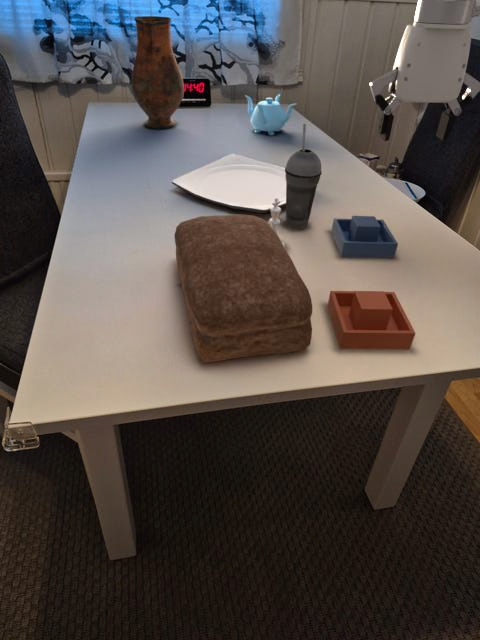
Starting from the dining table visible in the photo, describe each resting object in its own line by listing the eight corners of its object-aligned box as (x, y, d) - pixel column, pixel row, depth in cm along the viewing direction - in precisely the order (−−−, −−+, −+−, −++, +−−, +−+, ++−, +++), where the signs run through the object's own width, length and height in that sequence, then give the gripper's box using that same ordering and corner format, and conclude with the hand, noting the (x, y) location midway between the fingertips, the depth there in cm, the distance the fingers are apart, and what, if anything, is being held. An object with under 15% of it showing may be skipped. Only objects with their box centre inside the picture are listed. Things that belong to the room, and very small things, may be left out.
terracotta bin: (389, 307, 72) (394, 291, 70) (409, 349, 64) (415, 333, 62) (327, 306, 72) (330, 290, 70) (339, 348, 64) (343, 332, 62)
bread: (262, 251, 85) (266, 194, 78) (315, 355, 62) (328, 288, 55) (172, 258, 81) (168, 199, 74) (194, 370, 59) (192, 301, 52)
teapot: (243, 126, 151) (244, 94, 145) (279, 124, 155) (281, 92, 149) (256, 137, 142) (257, 103, 136) (294, 135, 145) (297, 101, 139)
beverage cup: (295, 236, 90) (307, 133, 78) (272, 222, 95) (281, 123, 82) (320, 227, 94) (337, 127, 81) (297, 214, 98) (309, 118, 86)
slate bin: (379, 233, 93) (383, 219, 91) (394, 258, 85) (398, 243, 83) (331, 232, 92) (333, 218, 90) (341, 257, 84) (344, 242, 82)
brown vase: (130, 130, 143) (117, 18, 124) (143, 113, 160) (134, 12, 141) (181, 133, 143) (177, 21, 124) (189, 115, 160) (186, 15, 141)
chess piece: (254, 247, 86) (257, 197, 80) (271, 239, 89) (275, 190, 83) (273, 256, 83) (278, 206, 77) (290, 248, 86) (295, 199, 80)
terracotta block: (377, 314, 69) (384, 291, 67) (385, 333, 66) (392, 309, 63) (348, 314, 69) (354, 290, 66) (355, 333, 66) (361, 308, 63)
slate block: (369, 236, 90) (374, 216, 87) (375, 247, 86) (380, 226, 84) (347, 236, 90) (352, 215, 87) (352, 247, 86) (357, 226, 83)
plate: (324, 185, 112) (325, 175, 111) (266, 226, 93) (267, 214, 92) (231, 160, 124) (231, 151, 122) (162, 192, 105) (162, 181, 103)
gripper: (490, 13, 67) (454, 132, 77) (376, 12, 66) (356, 132, 77) (515, 17, 61) (473, 146, 71) (390, 15, 60) (366, 145, 71)
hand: (412, 138), depth 74 cm, fingers open, 9 cm apart
